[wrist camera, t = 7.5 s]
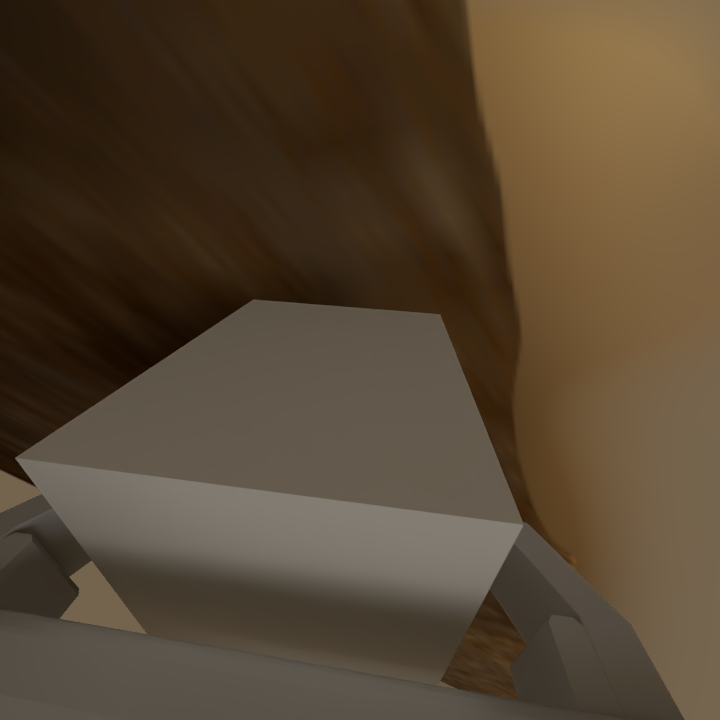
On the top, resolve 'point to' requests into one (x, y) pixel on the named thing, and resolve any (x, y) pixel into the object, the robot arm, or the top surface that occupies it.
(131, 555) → the grey matte cube
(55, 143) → the top surface
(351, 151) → the top surface
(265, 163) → the top surface
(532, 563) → the robot arm
